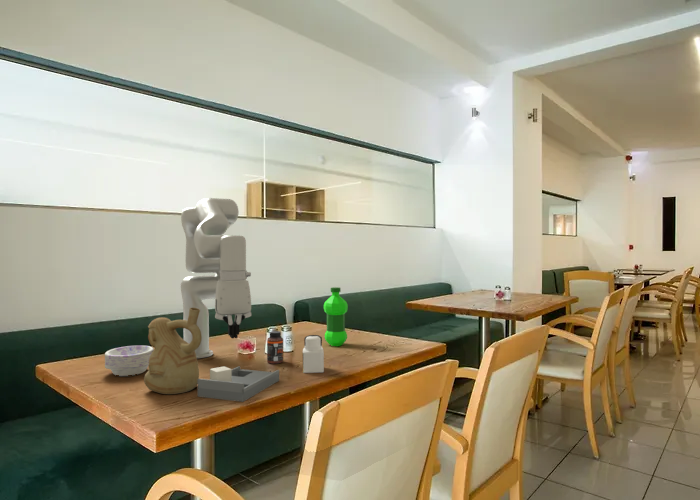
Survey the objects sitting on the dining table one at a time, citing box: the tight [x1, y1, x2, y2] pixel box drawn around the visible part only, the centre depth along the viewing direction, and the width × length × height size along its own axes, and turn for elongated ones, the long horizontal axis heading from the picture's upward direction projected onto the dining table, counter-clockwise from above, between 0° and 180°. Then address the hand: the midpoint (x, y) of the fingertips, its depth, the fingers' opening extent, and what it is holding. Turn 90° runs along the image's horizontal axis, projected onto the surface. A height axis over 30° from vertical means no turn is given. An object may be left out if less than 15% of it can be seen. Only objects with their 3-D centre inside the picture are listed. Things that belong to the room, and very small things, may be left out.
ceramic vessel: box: [143, 308, 202, 395], centre depth 140 cm, size 17×20×25 cm
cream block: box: [209, 366, 232, 382], centre depth 136 cm, size 5×5×5 cm
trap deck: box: [197, 365, 280, 403], centre depth 141 cm, size 15×22×5 cm
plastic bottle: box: [323, 286, 349, 347], centre depth 202 cm, size 10×10×25 cm
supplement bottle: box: [266, 330, 284, 365], centre depth 172 cm, size 6×6×11 cm
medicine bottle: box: [302, 334, 325, 374], centre depth 161 cm, size 7×7×12 cm
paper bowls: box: [104, 345, 155, 377], centre depth 159 cm, size 15×15×8 cm
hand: (233, 337), depth 139 cm, fingers closed
